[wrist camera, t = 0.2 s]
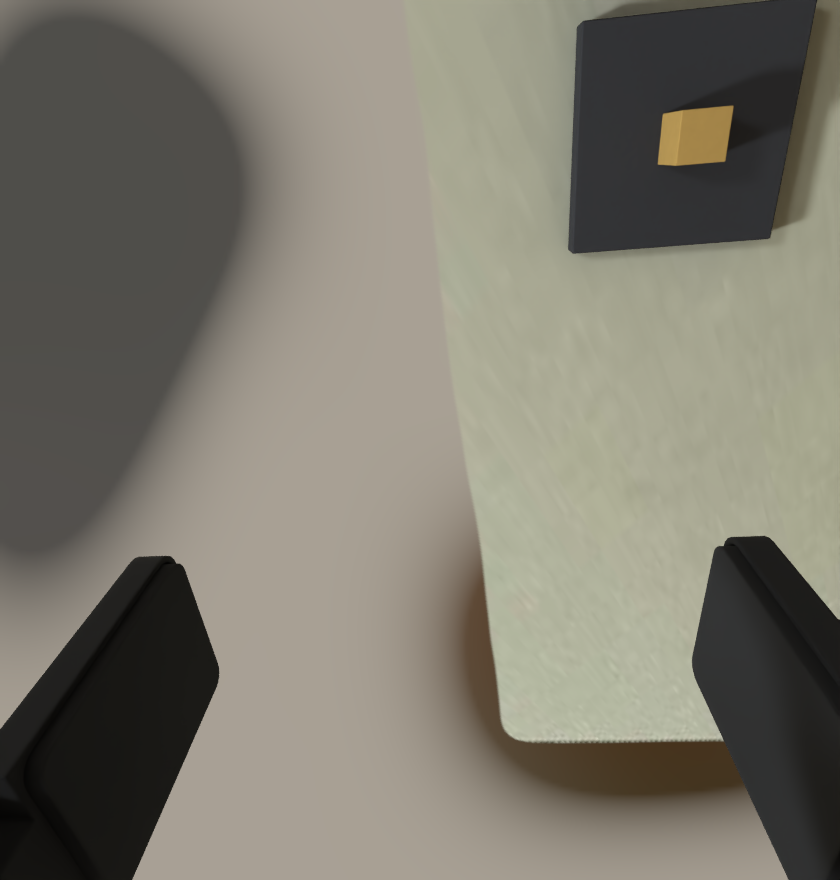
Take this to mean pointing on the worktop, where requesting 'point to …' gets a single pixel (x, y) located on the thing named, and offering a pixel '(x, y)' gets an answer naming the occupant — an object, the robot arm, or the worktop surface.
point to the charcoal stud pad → (683, 81)
